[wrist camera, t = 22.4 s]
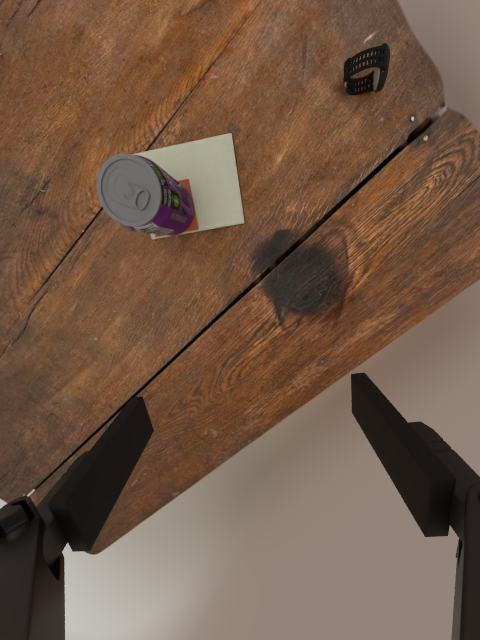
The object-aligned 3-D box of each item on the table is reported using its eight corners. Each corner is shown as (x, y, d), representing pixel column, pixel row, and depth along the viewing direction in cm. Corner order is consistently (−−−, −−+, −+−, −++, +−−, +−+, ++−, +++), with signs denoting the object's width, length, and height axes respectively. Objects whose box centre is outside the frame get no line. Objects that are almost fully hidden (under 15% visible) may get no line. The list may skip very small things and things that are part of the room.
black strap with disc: (368, 110, 30) (390, 85, 25) (329, 97, 30) (344, 68, 25) (383, 70, 28) (410, 35, 24) (343, 55, 28) (362, 17, 24)
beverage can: (204, 200, 33) (178, 176, 22) (181, 245, 35) (146, 245, 24) (159, 170, 32) (107, 129, 21) (138, 218, 34) (81, 205, 23)
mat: (232, 135, 31) (231, 132, 30) (244, 223, 35) (244, 222, 34) (132, 156, 33) (129, 154, 32) (153, 239, 36) (151, 239, 35)
